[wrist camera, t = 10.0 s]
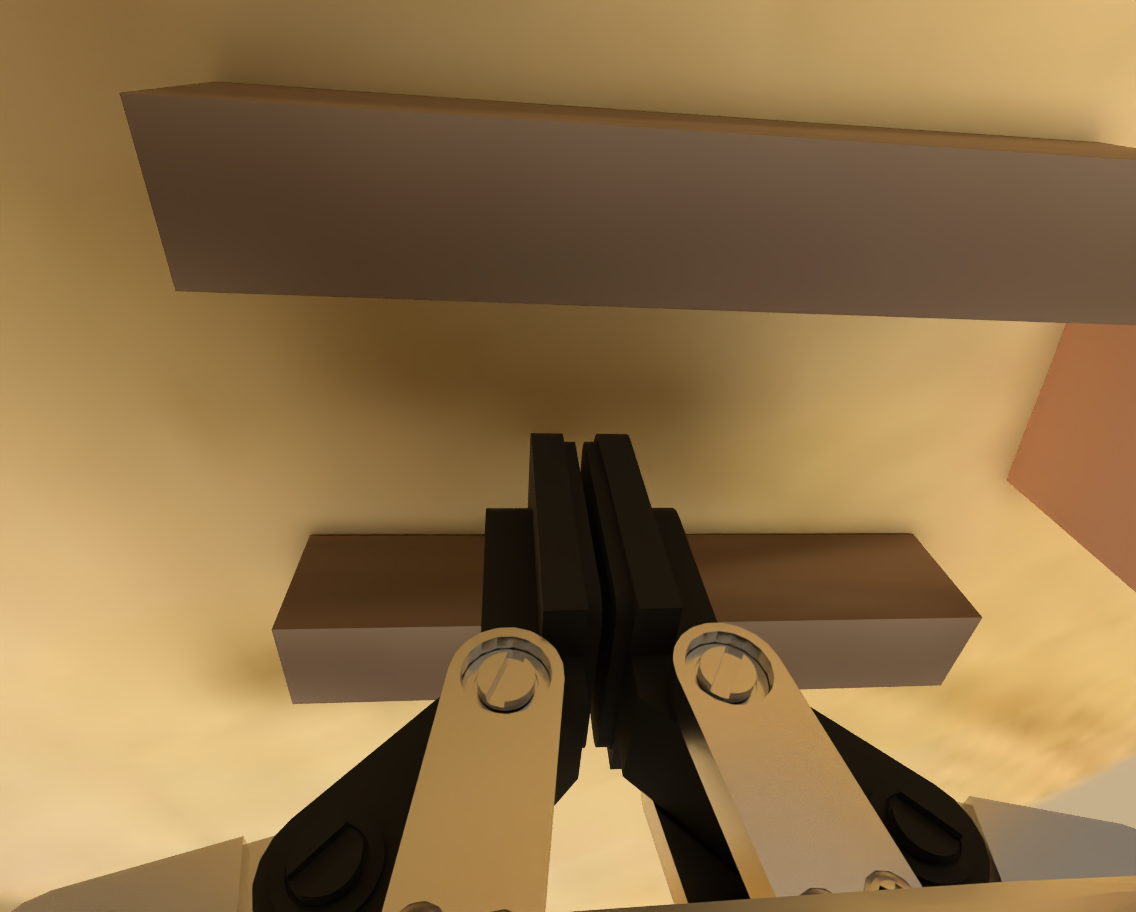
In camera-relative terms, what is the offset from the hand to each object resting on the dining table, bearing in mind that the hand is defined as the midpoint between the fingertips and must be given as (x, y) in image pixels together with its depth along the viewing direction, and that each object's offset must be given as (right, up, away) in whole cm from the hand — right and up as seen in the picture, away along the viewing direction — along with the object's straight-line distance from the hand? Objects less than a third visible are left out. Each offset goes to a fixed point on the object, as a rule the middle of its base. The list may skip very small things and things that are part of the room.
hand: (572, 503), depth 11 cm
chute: (+2, +2, +3) cm, 4 cm away
